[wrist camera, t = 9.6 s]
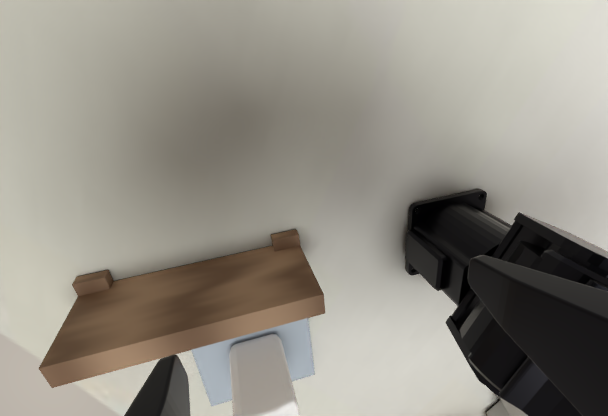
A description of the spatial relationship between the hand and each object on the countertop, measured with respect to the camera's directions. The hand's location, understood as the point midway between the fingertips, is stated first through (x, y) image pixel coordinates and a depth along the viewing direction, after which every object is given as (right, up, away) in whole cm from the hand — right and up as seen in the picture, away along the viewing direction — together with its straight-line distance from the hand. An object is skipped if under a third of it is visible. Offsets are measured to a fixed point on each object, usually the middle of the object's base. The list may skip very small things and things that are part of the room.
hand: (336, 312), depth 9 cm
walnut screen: (-8, -1, +13) cm, 15 cm away
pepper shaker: (-5, -9, +16) cm, 19 cm away
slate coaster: (-5, -8, +17) cm, 19 cm away
